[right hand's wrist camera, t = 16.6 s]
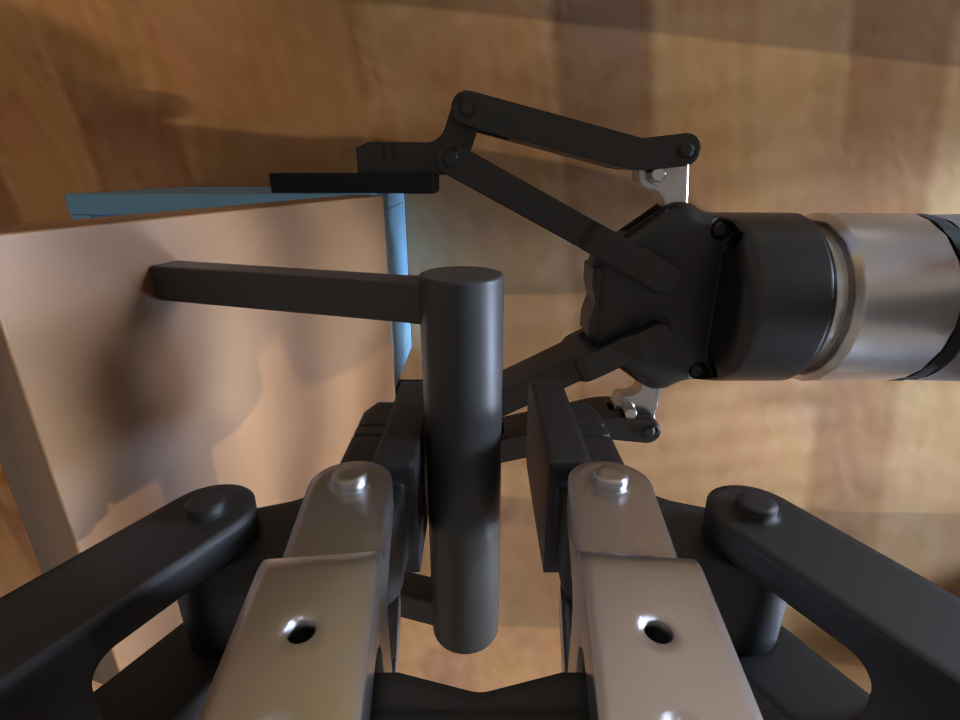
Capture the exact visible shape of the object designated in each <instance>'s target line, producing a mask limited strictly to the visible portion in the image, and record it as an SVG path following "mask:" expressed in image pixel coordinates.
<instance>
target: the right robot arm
mask: <svg viewBox="0 0 960 720" xmlns="http://www.w3.org/2000/svg"><path fill="white" fill-rule="evenodd" d="M358 425H359V426H358V427H357V428H356V431H355V433H354V437H352V439H351V441H350V443H349V445H348V447H347V450H346V452H345V454H344V456H343V458H342V460H341V462H340V464H337V465H334V466H331V467H329V468H327V469H325V470H323V471H321V472H320V473H318V474H317V475H316V476H315V477H313V479H312V480H311V481H310V483H309V485H308V487H307V490H306V493H305V495H304V498H301V499H298V500H294V501H290V502H285V503H280V504H275V505H270V506H265V507H260V508H257V505H256V500H255V495H254V494H253V492H252V491H251V490H250V489H248V488H246V487H244V486H240V485H234V484H220V485H213V486H208V487H204V488H200V489H197V490H194V491H192V492H189V493H187V494H185V495H183V496H181V497H179V498H177V499H175V500H173V501H172V502H170V503H168V504H166V505H165V506H163V507H161V508H159V509H157V510H156V511H154V512H152V513H150V514H149V515H147V516H145V517H143V518H141V519H140V520H138V521H136V522H134V523H133V524H131V525H129V526H127V527H126V528H124V529H122V530H120V531H118V532H117V533H115V534H113V535H111V536H110V537H108V538H106V539H104V540H102V541H101V542H99V543H97V544H95V545H94V546H92V547H90V548H88V549H86V550H85V551H83V552H81V553H79V554H78V555H76V556H74V557H72V558H70V559H69V560H67V561H65V562H63V563H62V564H60V565H58V566H56V567H54V568H53V569H51V570H49V571H47V572H46V573H44V574H42V575H40V576H38V577H37V578H35V579H33V580H31V581H30V582H28V583H26V584H24V585H22V586H21V587H19V588H17V589H15V590H14V591H12V592H10V593H8V594H7V595H5V596H3V597H1V598H0V720H960V598H959V597H957V596H955V595H954V594H952V593H950V592H948V591H946V590H945V589H943V588H941V587H939V586H938V585H936V584H934V583H932V582H930V581H929V580H927V579H925V578H923V577H922V576H920V575H918V574H916V573H914V572H913V571H911V570H909V569H907V568H906V567H904V566H902V565H900V564H898V563H897V562H895V561H893V560H891V559H890V558H888V557H886V556H884V555H882V554H881V553H879V552H877V551H875V550H874V549H872V548H870V547H868V546H866V545H865V544H863V543H861V542H859V541H858V540H856V539H854V538H852V537H850V536H849V535H847V534H845V533H843V532H842V531H840V530H838V529H836V528H835V527H833V526H831V525H829V524H827V523H826V522H824V521H822V520H820V519H819V518H817V517H815V516H813V515H811V514H810V513H808V512H806V511H804V510H803V509H801V508H799V507H797V506H795V505H794V504H792V503H790V502H788V501H787V500H785V499H783V498H781V497H779V496H777V495H775V494H772V493H770V492H767V491H764V490H761V489H758V488H753V487H748V486H739V485H729V486H722V487H719V488H716V489H714V490H713V491H711V492H710V493H709V495H708V497H707V501H706V507H705V508H703V507H698V506H693V505H688V504H683V503H677V502H673V501H669V500H666V499H663V498H660V497H657V496H656V495H655V493H654V490H653V487H652V485H651V483H650V481H649V480H648V479H647V477H645V476H644V475H643V474H642V473H640V472H639V471H637V470H635V469H633V468H631V467H629V466H626V465H624V463H623V461H622V459H621V457H620V455H619V453H618V451H617V449H616V447H615V445H614V443H613V441H612V439H611V437H609V432H608V430H607V428H606V427H605V424H604V422H603V420H602V418H601V416H600V414H599V412H597V411H596V410H595V409H593V408H592V407H591V406H589V405H588V404H586V403H585V402H569V400H568V398H567V395H566V392H565V390H564V387H563V385H562V382H529V388H528V412H527V439H526V457H527V470H528V476H529V483H530V489H531V495H532V502H533V508H534V515H535V521H536V527H537V534H538V540H539V546H540V553H541V559H542V565H543V572H559V577H560V582H561V586H560V600H559V615H560V638H561V660H562V673H558V674H555V675H551V676H547V677H543V678H539V679H535V680H531V681H527V682H524V683H520V684H516V685H512V686H508V687H504V688H500V689H496V690H493V691H489V692H471V691H467V690H464V689H460V688H456V687H452V686H448V685H444V684H440V683H436V682H433V681H429V680H425V679H421V678H417V677H413V676H409V675H405V674H402V673H398V660H399V638H400V615H401V600H400V591H401V589H402V585H403V580H404V575H405V572H420V568H421V561H422V554H423V548H424V541H425V534H426V528H427V521H428V514H429V513H428V490H427V466H426V443H425V419H424V395H423V382H401V384H400V387H399V389H398V392H397V395H396V397H395V400H394V402H378V403H376V404H375V405H373V406H372V407H371V408H369V409H368V410H367V411H365V412H364V414H363V416H362V418H361V420H360V422H359V424H358ZM175 601H177V602H178V606H179V609H180V613H181V617H182V620H183V623H182V624H180V625H179V626H178V627H176V628H175V629H174V630H173V631H171V632H170V633H169V634H167V635H166V636H165V637H164V638H162V639H161V640H160V641H159V642H157V643H156V644H155V645H153V646H152V647H151V648H150V649H148V650H147V651H146V652H144V653H143V654H142V655H141V656H139V657H138V658H137V659H135V660H134V661H133V662H132V663H130V664H129V665H128V666H127V667H125V668H124V669H123V670H121V671H120V672H119V673H118V674H116V675H115V676H114V677H112V678H111V679H110V680H109V681H107V682H106V683H105V684H103V685H102V686H101V687H100V688H98V689H97V690H96V691H95V692H93V689H92V679H93V675H94V673H95V670H96V668H97V666H98V665H99V663H100V662H101V660H102V659H103V658H104V656H105V655H106V654H107V653H108V652H109V651H110V650H111V649H112V648H113V647H114V646H116V645H117V644H118V643H120V642H121V641H122V640H124V639H125V638H126V637H128V636H129V635H130V634H132V633H133V632H134V631H136V630H137V629H139V628H140V627H141V626H143V625H144V624H145V623H147V622H148V621H149V620H151V619H152V618H154V617H155V616H156V615H158V614H159V613H160V612H162V611H163V610H164V609H166V608H167V607H168V606H170V605H171V604H173V603H174V602H175ZM787 604H789V605H790V606H792V607H793V608H794V609H796V610H797V611H798V612H800V613H801V614H802V615H804V616H805V617H807V618H808V619H809V620H811V621H812V622H813V623H815V624H816V625H817V626H819V627H820V628H821V629H823V630H824V631H826V632H827V633H828V634H830V635H831V636H832V637H834V638H835V639H836V640H838V641H839V642H840V643H842V644H843V645H845V646H846V647H847V648H848V649H850V650H851V651H852V652H853V653H854V654H855V655H856V656H857V657H858V658H859V660H860V661H861V662H862V664H863V665H864V666H865V668H866V670H867V672H868V674H869V677H870V679H871V684H872V690H871V694H870V695H869V694H868V693H867V692H865V691H864V690H863V689H862V688H860V687H859V686H858V685H857V684H855V683H854V682H853V681H851V680H850V679H849V678H848V677H846V676H845V675H844V674H842V673H841V672H840V671H839V670H837V669H836V668H835V667H833V666H832V665H831V664H830V663H828V662H827V661H826V660H825V659H823V658H822V657H821V656H819V655H818V654H817V653H816V652H814V651H813V650H812V649H810V648H809V647H808V646H807V645H805V644H804V643H803V642H802V641H800V640H799V639H798V638H796V637H795V636H794V635H793V634H791V633H790V632H789V631H787V630H786V629H785V628H784V627H782V626H781V623H782V619H783V616H784V612H785V608H786V605H787Z"/></svg>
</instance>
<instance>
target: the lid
mask: <svg viewBox="0 0 960 720" xmlns="http://www.w3.org/2000/svg"><path fill="white" fill-rule="evenodd" d="M503 306H504V276H503V274H502V273H501V272H499V271H496V270H493V269H489V268H482V267H468V266H457V267H442V268H435V269H431V270H427V271H425V272H422V273H421V274H420V275H419V276H414V275H398V274H388V269H387V253H386V238H385V222H384V206H383V196H382V195H345V196H334V197H322V198H311V199H300V200H288V201H277V202H266V203H255V204H243V205H232V206H221V207H210V208H198V209H187V210H176V211H164V212H153V213H142V214H131V215H119V216H108V217H97V218H85V219H74V220H63V221H52V222H40V223H29V224H18V225H6V226H0V463H1V465H2V468H3V470H4V473H5V476H6V478H7V481H8V484H9V486H10V489H11V491H12V494H13V497H14V499H15V502H16V505H17V507H18V510H19V513H20V515H21V518H22V520H23V523H24V526H25V528H26V531H27V534H28V536H29V539H30V541H31V544H32V547H33V549H34V552H35V555H36V557H37V560H38V563H39V565H40V568H41V570H42V573H43V574H44V573H46V572H47V571H49V570H51V569H53V568H54V567H56V566H58V565H60V564H62V563H63V562H65V561H67V560H69V559H70V558H72V557H74V556H76V555H78V554H79V553H81V552H83V551H85V550H86V549H88V548H90V547H92V546H94V545H95V544H97V543H99V542H101V541H102V540H104V539H106V538H108V537H110V536H111V535H113V534H115V533H117V532H118V531H120V530H122V529H124V528H126V527H127V526H129V525H131V524H133V523H134V522H136V521H138V520H140V519H141V518H143V517H145V516H147V515H149V514H150V513H152V512H154V511H156V510H157V509H159V508H161V507H163V506H165V505H166V504H168V503H170V502H172V501H173V500H175V499H177V498H179V497H181V496H183V495H185V494H187V493H189V492H192V491H194V490H197V489H200V488H204V487H208V486H213V485H220V484H234V485H240V486H244V487H246V488H248V489H250V490H251V491H252V492H253V494H254V495H255V500H256V505H257V508H260V507H265V506H270V505H275V504H280V503H285V502H290V501H294V500H298V499H301V498H304V495H305V493H306V490H307V487H308V485H309V483H310V481H311V480H312V479H313V477H315V476H316V475H317V474H318V473H320V472H321V471H323V470H325V469H327V468H329V467H331V466H334V465H337V464H340V462H341V460H342V458H343V456H344V454H345V452H346V450H347V447H348V445H349V443H350V441H351V439H352V437H354V433H355V431H356V428H357V427H358V426H359V425H358V424H359V422H360V420H361V418H362V416H363V414H364V412H365V411H367V410H368V409H369V408H371V407H372V406H373V405H375V404H376V403H378V402H394V400H395V397H396V395H395V379H394V363H393V348H392V332H391V321H392V322H403V323H414V324H420V325H421V348H422V372H423V395H424V419H425V443H426V466H427V490H428V513H429V537H430V560H431V577H428V576H424V575H420V574H415V573H411V572H405V575H404V580H403V585H402V589H401V591H400V600H401V615H400V617H404V618H408V619H411V620H415V621H419V622H423V623H426V624H430V625H433V629H434V634H435V636H436V638H437V640H438V641H439V643H440V644H441V645H442V646H443V647H444V648H446V649H447V650H449V651H451V652H454V653H459V654H471V653H476V652H478V651H481V650H483V649H484V648H486V647H487V646H488V645H489V644H491V642H492V641H493V640H494V638H495V636H496V634H497V631H498V608H499V547H500V487H501V427H502V366H503ZM182 623H183V620H182V617H181V613H180V609H179V606H178V602H177V601H175V602H174V603H173V604H171V605H170V606H168V607H167V608H166V609H164V610H163V611H162V612H160V613H159V614H158V615H156V616H155V617H154V618H152V619H151V620H149V621H148V622H147V623H145V624H144V625H143V626H141V627H140V628H139V629H137V630H136V631H134V632H133V633H132V634H130V635H129V636H128V637H126V638H125V639H124V640H122V641H121V642H120V643H118V644H117V645H116V646H114V647H113V648H112V649H111V650H110V651H109V652H108V653H107V654H106V655H105V656H104V658H103V659H102V660H101V662H100V663H99V665H98V666H97V668H96V670H95V673H94V675H93V679H92V680H94V681H96V682H99V683H102V684H105V683H106V682H107V681H109V680H110V679H111V678H112V677H114V676H115V675H116V674H118V673H119V672H120V671H121V670H123V669H124V668H125V667H127V666H128V665H129V664H130V663H132V662H133V661H134V660H135V659H137V658H138V657H139V656H141V655H142V654H143V653H144V652H146V651H147V650H148V649H150V648H151V647H152V646H153V645H155V644H156V643H157V642H159V641H160V640H161V639H162V638H164V637H165V636H166V635H167V634H169V633H170V632H171V631H173V630H174V629H175V628H176V627H178V626H179V625H180V624H182Z"/></svg>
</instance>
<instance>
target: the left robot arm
mask: <svg viewBox="0 0 960 720" xmlns="http://www.w3.org/2000/svg"><path fill="white" fill-rule="evenodd" d="M477 133H481V134H484V135H488V136H492V137H495V138H499V139H503V140H507V141H510V142H514V143H518V144H521V145H525V146H529V147H533V148H536V149H540V150H544V151H547V152H551V153H555V154H559V155H562V156H566V157H570V158H573V159H577V160H581V161H585V162H588V163H592V164H596V165H599V166H603V167H607V168H612V169H618V170H632V177H633V181H634V183H635V184H636V185H637V186H638V187H640V188H643V189H648V190H650V191H652V192H653V193H654V194H655V196H656V198H657V204H656V205H654V206H653V207H652V208H650V209H649V210H647V211H646V212H644V213H643V214H641V215H640V216H639V217H637V218H636V219H634V220H633V221H631V222H630V223H628V224H627V225H626V226H624V227H623V228H621V229H620V230H618V231H617V232H614V231H612V230H610V229H608V228H607V227H605V226H603V225H601V224H599V223H598V222H596V221H594V220H592V219H590V218H588V217H587V216H585V215H583V214H581V213H579V212H578V211H576V210H574V209H572V208H571V207H569V206H567V205H565V204H563V203H562V202H560V201H558V200H556V199H555V198H553V197H551V196H549V195H547V194H546V193H544V192H542V191H540V190H538V189H537V188H535V187H533V186H531V185H530V184H528V183H526V182H524V181H522V180H521V179H519V178H517V177H515V176H514V175H512V174H510V173H508V172H506V171H505V170H503V169H501V168H499V167H498V166H496V165H494V164H492V163H490V162H489V161H487V160H485V159H483V158H482V157H480V156H478V155H476V154H474V153H473V152H471V149H472V146H473V143H474V140H475V137H476V134H477ZM700 149H701V147H700V141H699V140H698V138H697V137H696V136H694V135H693V134H688V133H683V134H675V135H666V136H657V137H649V138H640V137H636V136H632V135H629V134H625V133H621V132H618V131H614V130H611V129H607V128H603V127H600V126H596V125H592V124H589V123H585V122H582V121H578V120H574V119H571V118H567V117H563V116H560V115H556V114H553V113H549V112H545V111H542V110H538V109H535V108H531V107H527V106H524V105H520V104H516V103H513V102H509V101H506V100H502V99H498V98H495V97H491V96H487V95H484V94H480V93H477V92H473V91H462V92H460V93H458V94H457V95H456V96H455V97H454V99H453V101H452V107H451V111H450V114H449V117H448V120H447V123H446V127H445V129H444V132H443V133H442V135H441V136H440V137H439V138H438V139H436V140H435V141H432V142H394V143H393V142H368V143H366V144H364V145H361V146H359V147H357V148H356V153H357V166H358V173H269V177H270V184H271V192H272V193H420V194H434V193H436V192H438V191H439V175H448V176H450V177H452V178H454V179H456V180H457V181H459V182H461V183H463V184H465V185H467V186H468V187H470V188H472V189H474V190H476V191H478V192H479V193H481V194H483V195H485V196H487V197H488V198H490V199H492V200H494V201H496V202H498V203H499V204H501V205H503V206H505V207H507V208H509V209H510V210H512V211H514V212H516V213H518V214H519V215H521V216H523V217H525V218H527V219H529V220H530V221H532V222H534V223H536V224H538V225H540V226H541V227H543V228H545V229H547V230H549V231H550V232H552V233H554V234H556V235H558V236H560V237H561V238H563V239H565V240H567V241H569V242H570V243H572V244H574V245H576V246H578V247H579V248H581V249H583V250H584V251H586V252H588V253H590V254H591V255H590V257H589V259H588V260H585V263H584V281H585V286H586V292H587V294H586V297H585V300H584V303H583V306H582V309H581V319H580V325H581V327H582V329H580V330H578V331H575V332H573V333H571V334H569V335H568V336H566V337H565V338H564V339H563V340H562V342H560V343H558V344H556V345H554V346H552V347H550V348H548V349H546V350H544V351H542V352H540V353H538V354H536V355H534V356H532V357H529V358H527V359H525V360H523V361H521V362H519V363H517V364H515V365H513V366H511V367H509V368H507V369H505V370H502V427H501V463H502V462H507V461H512V460H516V459H521V458H526V439H527V412H523V413H519V414H514V415H510V416H505V415H507V414H510V413H512V412H514V411H516V410H518V409H520V408H522V407H525V406H527V405H528V388H529V382H562V385H563V387H564V388H565V387H568V386H570V385H572V384H574V383H576V382H579V381H584V382H587V381H591V380H594V379H596V378H598V377H601V376H603V375H605V374H607V373H609V372H611V371H613V370H616V369H618V368H620V369H622V370H623V371H624V372H626V373H627V374H629V375H630V376H631V377H633V378H634V379H635V380H636V381H635V383H634V384H633V385H632V386H630V387H628V388H625V389H616V390H615V391H614V392H613V394H612V395H611V397H607V396H604V397H593V398H587V399H582V400H578V401H573V402H585V403H586V404H588V405H589V406H591V407H592V408H593V409H595V410H596V411H597V412H599V414H600V416H601V418H602V420H603V422H604V424H605V427H606V428H607V430H608V432H609V437H611V439H613V440H623V441H633V442H643V443H648V442H652V441H655V440H656V439H657V438H658V437H659V435H660V433H661V428H660V426H659V424H658V423H657V421H656V420H655V413H656V410H657V406H658V402H659V398H660V394H661V390H662V388H665V387H668V386H670V385H672V384H674V383H677V382H679V381H682V380H686V379H702V380H717V381H724V380H786V379H790V378H794V379H798V380H801V381H845V380H889V381H903V380H944V381H960V214H952V215H928V214H915V213H812V214H809V215H807V216H803V215H801V214H797V213H710V212H704V211H702V210H700V209H698V208H696V207H695V206H693V205H692V204H690V203H688V179H689V165H690V164H692V163H693V162H694V161H695V160H696V159H697V157H698V156H699V154H700ZM401 382H423V380H399V381H398V383H397V386H396V388H395V395H397V392H398V389H399V387H400V384H401ZM503 416H505V417H503Z"/></svg>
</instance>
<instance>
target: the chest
mask: <svg viewBox="0 0 960 720" xmlns="http://www.w3.org/2000/svg"><path fill="white" fill-rule="evenodd" d="M345 195H382V196H383V206H384V222H385V238H386V253H387V269H388V274H398V275H408V264H407V244H406V224H405V203H404V193H272V192H271V187H172V188H155V189H139V190H123V191H107V192H90V193H74V194H65V199H66V203H67V206H68V210H69V214H71V216H70V217H71V220H74V219H85V218H97V217H108V216H119V215H131V214H142V213H153V212H164V211H176V210H187V209H198V208H210V207H221V206H232V205H243V204H255V203H266V202H277V201H288V200H300V199H311V198H322V197H334V196H345ZM391 332H392V348H393V363H394V379H395V388H396V386H397V383H398V381H399V378H400V376H401V373H402V370H403V368H404V365H405V363H406V360H407V358H408V355H409V352H410V350H411V347H412V344H411V324H410V323H403V322H392V321H391Z"/></svg>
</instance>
